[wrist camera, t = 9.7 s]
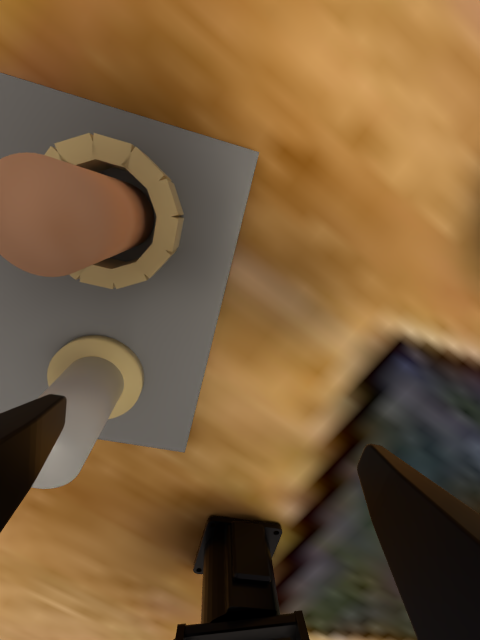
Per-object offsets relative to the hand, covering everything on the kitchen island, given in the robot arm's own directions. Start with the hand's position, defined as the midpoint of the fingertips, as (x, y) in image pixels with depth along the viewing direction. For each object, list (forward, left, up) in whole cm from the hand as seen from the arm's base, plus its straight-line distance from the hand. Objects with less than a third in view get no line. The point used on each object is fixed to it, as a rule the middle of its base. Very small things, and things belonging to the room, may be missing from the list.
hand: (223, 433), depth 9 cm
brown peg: (+5, +7, -11) cm, 13 cm away
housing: (-1, +7, -12) cm, 13 cm away
